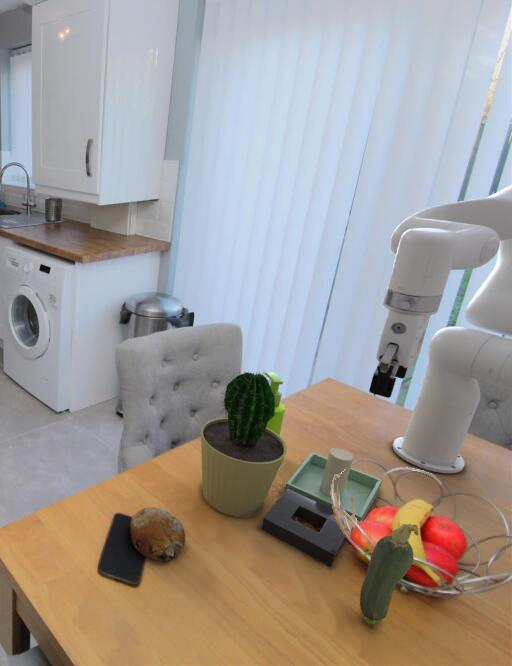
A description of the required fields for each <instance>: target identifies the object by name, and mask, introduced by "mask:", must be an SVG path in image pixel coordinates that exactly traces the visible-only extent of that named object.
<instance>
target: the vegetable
mask: <svg viewBox="0 0 512 666" xmlns="http://www.w3.org/2000/svg"><path fill="white" fill-rule="evenodd" d="M420 530H421V529H419V527H418V525H417V524H411V523H402V524H401V525H400V526H399V527H398V528H395V529H393V530H392V531H391V532H390V534H388V535H385V536H383V537H381V538H380V539H379V540H378V541H377V543H376V544H375V545H374V548H373V549H372V553H371V556H370V561H369V563H368V565H367V569H366V573H365V576H364V580H363V582H362V586H361V589H360V593H359V594H360V595H359V606H360V607H359V609H360V611H361V613H362V615H363V616H364V619H365V621H366V623H367V624H368V625H371V626H374V625H376V624H378V623H381V622H382V621H383V619H385V618H386V617H387V615H388V611H389V607H390V604H391V601H392V597H393V593H394V592H395V591H394V590H395V588H396V587H397V585H398V583H399V582H400V581H401V580H402V579H403V578H404V577H405V576H406V574H407V573H408V572H409V570H410V568H411V567H412V565H413V563H414V558H415V557H414V550H413V547H412V545H411V543H409V539H410V538H411V535H412V532H413V534H414V535H415V536H419V534H420V532H419V531H420Z"/></svg>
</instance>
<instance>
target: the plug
mask: <svg viewBox="0 0 512 666" xmlns="http://www.w3.org/2000/svg"><path fill="white" fill-rule="evenodd" d="M327 458H328V459H327V463H326V467H325V470H324V474H323V478H322V482H321V485H320V490H321V491H322V492H323V493H324V494H325V495H327V496H330V497H331V495H330V491H331V484H332V480H333V477H334V475H335V474H339V473H341V472H342V471H344V469H346V470H345V471H344V472H342V474H341V476H340V477H339V478H338V482H339V490H340V497H342V495H343V492H344V488H345V485H346V482H347V478H348V475H349V472H350V468H352V465H353V461H354V455H353V454H352V453H351V452H349V450H346V449H343V448H338V447H334V448H331V449H329V452H328V456H327ZM335 492H337V480H334V493H335Z"/></svg>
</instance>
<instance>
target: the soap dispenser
mask: <svg viewBox="0 0 512 666" xmlns="http://www.w3.org/2000/svg"><path fill="white" fill-rule="evenodd" d="M263 372H264V373H263V375H264V374H266V375H265V376H267V378H268V380H271V381H270V382H271V383H270V384H271V386H270V387H271V389H272V392H276V394H275V393H273V394H275V395H274V396H276V397H275V399H276V400H275V403H277V404H275V414H276V415H274V417H272V418H271V419H270V421H271V422H270V421H268V423H267V424H268V425H269V427H268V426H267V428H269V429H271V430H272V431H274V432H275V433H277V434H278V435H279V436H280V435H281V430H282V426H283V421H284V416H285V412H286V406H285V405H284V404H283V403H282V402H281V400H282V395H283V393H282V391H280V390H279V389H280V385H283V384H284V381H283V380H282V378H281V377H280V376H279V375H278V374H277V373H275V372H273V371H263ZM272 382H273V384H272ZM274 382H275V383H274ZM274 389H277V390H274ZM277 395H278V396H277ZM279 403H281V404H279ZM276 407H277V408H276ZM276 412H277V413H276ZM272 421H273V422H274V423H273V422H272Z"/></svg>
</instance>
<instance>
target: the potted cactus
mask: <svg viewBox="0 0 512 666" xmlns="http://www.w3.org/2000/svg"><path fill="white" fill-rule="evenodd" d="M264 372H266V369H264V370H263V373H261V371H260V370H259V371H258V372H256V373H254V372H249V371H244V372H243V373H241V372H238V374H237V375H236V376H235V375H233V377H232V376H231V375H229V376H230V378H231V379H230V381H226V382H227V383H226V387H225V389H222V390H223V392H220V394H223V395H222V397H223V400H222V401H221V400H219V401H220V404H222V406H223V408H221V409H222V410H221V412H222V413H223V414H224V411H226V416H224V417H217V418H213V419H210V420H208V421H206V422H205V423H204V424H203V425H202V426H201V430H200V444H201V445H200V450H201V451H200V452H201V485H202V486H201V488H202V496H203V497H204V499H205V501H206V503H208V504H209V505H210V507H212V508H213V509H215V510H216V511H218V512H220V513H222V514H224V515H227V516H230V517H235V518H250V517H253V516H255V515H257V514H258V513H260V511H261V510H262V507H263V505H264V503H265V500H266V499H267V496H268V494H269V492H270V491H271V488H272V485H273V483H274V481H275V479H276V476H277V474H278V472H279V470H280V468H281V466H282V464H283V461H284V459H285V457H286V455H287V453H288V445H287V444H286V442H285V440H284V439H283V437H282V436H280V435H278V434H277V433H275V432H274V431H272V430H271V429H269V428H267V426H268V427H269V425H268V424H267V423H268V421H270V419H271V418H272V417H274V415H276V414H275V404H277V403H275V400H276V399H275V397H276V396H274V395H275V394H276V392H272V389H271V387H270V386H271V380H270V379H268V376H267V375H266V374H264ZM227 379H228V380H229V378H228V377H226V380H227ZM274 383H275V382H274ZM272 384H273V382H272ZM274 390H277V389H274ZM273 393H275V394H273ZM277 396H278V395H277ZM281 403H282V402H280V403H279V404H281ZM276 408H277V407H276ZM276 413H277V412H276ZM270 422H271V421H270ZM272 422H273V421H272ZM273 423H274V422H273Z"/></svg>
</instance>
